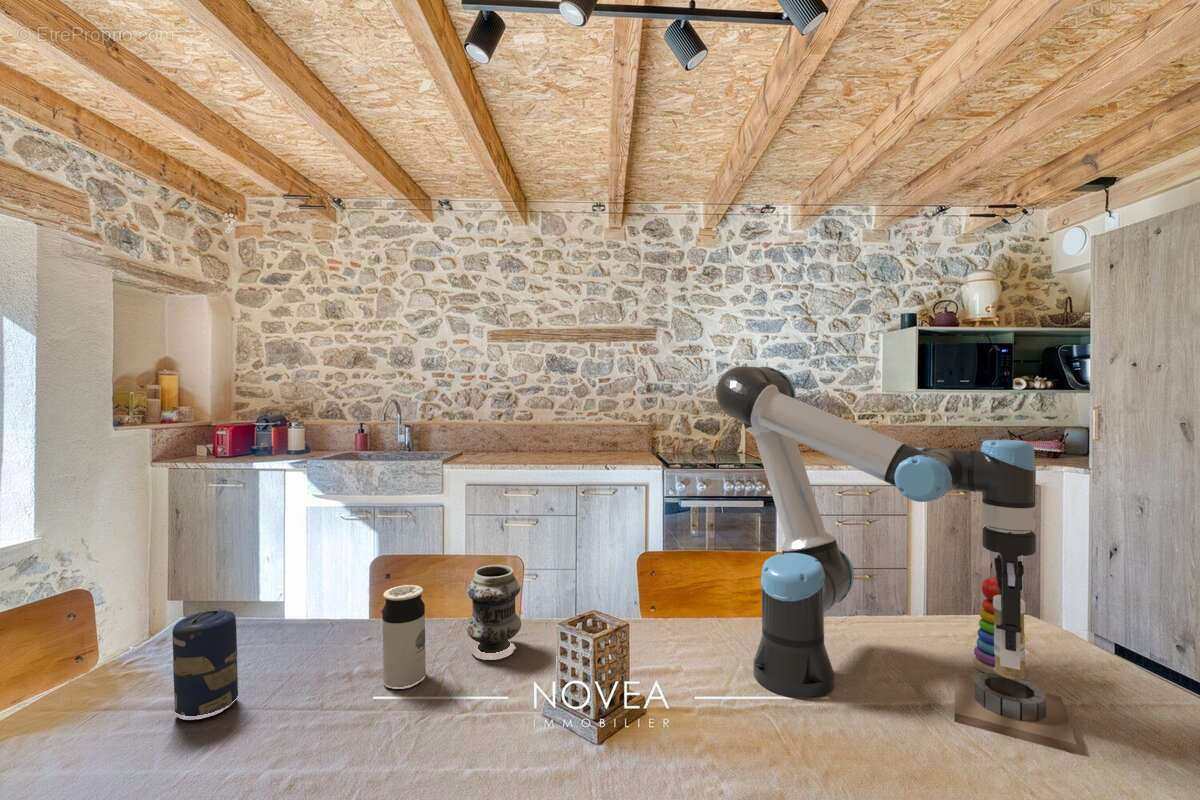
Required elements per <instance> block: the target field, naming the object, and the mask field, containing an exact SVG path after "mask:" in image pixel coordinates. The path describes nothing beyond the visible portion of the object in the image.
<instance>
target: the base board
mask: <svg viewBox="0 0 1200 800" xmlns="http://www.w3.org/2000/svg"><path fill="white" fill-rule="evenodd" d="M954 675H955V676H954V677H955V678H954V681H955V682H954V723H955V722H956V723H958V724H963V725H966V726H971V727H974V728H978V729H983V730H984V731H985V730H986V731H990V732H992V733H997V734H1000V735H1004V736H1007V737H1010V738H1011V737H1012V738H1015V739H1019V740H1023V741H1026V742H1029V743H1034V744H1037V745H1042V746H1045V747H1050V748H1052V749H1053V748H1054V749H1057V750H1061V751H1064V752H1068V753H1072V754H1075V755H1077V754H1078V752H1077V750H1078V745H1077V741H1076V739H1075V735H1074V732H1073V729H1072V725H1071V722H1070V720H1069V717H1068V714H1067V710H1066V707H1065V705H1064V701H1063V698H1062V696H1059V695H1055V694H1051V693H1047V692H1044V693H1045V696H1046V718H1044V719H1042V720H1040V721H1037V722H1033V721H1021V720H1020V721H1018V720H1014V719H1010V718H1006V717H1003V716H1002V715H1001V716H1000V715H998V714H996V713H993V712H991V711H989V710H987V709H985V708H984V707H982V706H981V705H980V704H979V703H978V702H977V701H976V700H975V679H974V677H975V676H971V675H967V674H963V673H958V672H955V674H954ZM1002 695H1004V694H1002ZM1005 696H1008V695H1005ZM1009 697H1013V696H1009ZM1013 698H1016V697H1013Z"/></svg>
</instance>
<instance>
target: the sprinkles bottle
mask: <svg viewBox="0 0 1200 800" xmlns="http://www.w3.org/2000/svg"><path fill="white" fill-rule="evenodd" d="M993 607H994V653H995V667H994V671H995V672H996V673H997V674H998V675H1000V676H1002V677H1004V678H1007V679H1012V680H1025V679H1026V677H1027V676H1026V670H1025V668H1026V665H1025V664H1026V662H1025V659H1026V650H1025V649H1026V644H1025V642H1026V641H1025V637H1026V636H1025V613H1026V602H1025V600H1024V599H1022V598H1021V628H1022V631H1021V633H1020V670H1018V669H1013V668H1008V667H1004V666H1001V665H1000V629H996V625H1001V595H995V596H994V597H993Z"/></svg>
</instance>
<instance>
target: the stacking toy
mask: <svg viewBox="0 0 1200 800" xmlns="http://www.w3.org/2000/svg"><path fill="white" fill-rule="evenodd" d="M981 592H982V594H983V595H984V597H985V598H986V599H983V601H982V602H981V605H982V609H981V610H980V611H979V616H980V619H979V621H978V625H979V628H978V629H977V636H978V637H977V639H976V646H975V647H974V649H973V651H974V652H973V653H974V656H973V660H972V662H973V665H974V666H975V667H976V669H978V670H979V671H981V672H982V673H983V674H984V673H996V672H995V671H994V667H995V653H994V607H993V597H994V596H995V595H998V585H997V580H996V576H991V577H987V578H986V579H985V580H984V581H983V582H982V584H981Z"/></svg>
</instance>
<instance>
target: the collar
mask: <svg viewBox="0 0 1200 800" xmlns="http://www.w3.org/2000/svg"><path fill="white" fill-rule="evenodd" d="M973 677H974V679H975V700H976V701H977V702H978V703H979V704H980V705H981V706H982V707H984V708H985V709H987V710H989V711H991V712H993V713H996V714H998V715H1000V716H1001V715H1002V716H1003V717H1006V718H1010V719H1014V720H1018V721H1020V720H1021V721H1033V722H1037V721H1040V720H1042V719H1044V718H1046V696H1045V693H1046V692H1045V691H1043V690H1042V689H1041V688H1039V687H1038V686H1036V685H1035V684H1033V683H1032V682H1029V681H1026V680H1025V679H1023V680H1012V679H1007V678H1004V677H1002V676H1000V675H998V674H997V673H984V672H982V673H979V674H977V675H975V676H973ZM1002 694H1004V695H1002ZM1005 695H1008V696H1005ZM1009 696H1013V697H1016V698H1013V697H1009Z"/></svg>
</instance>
